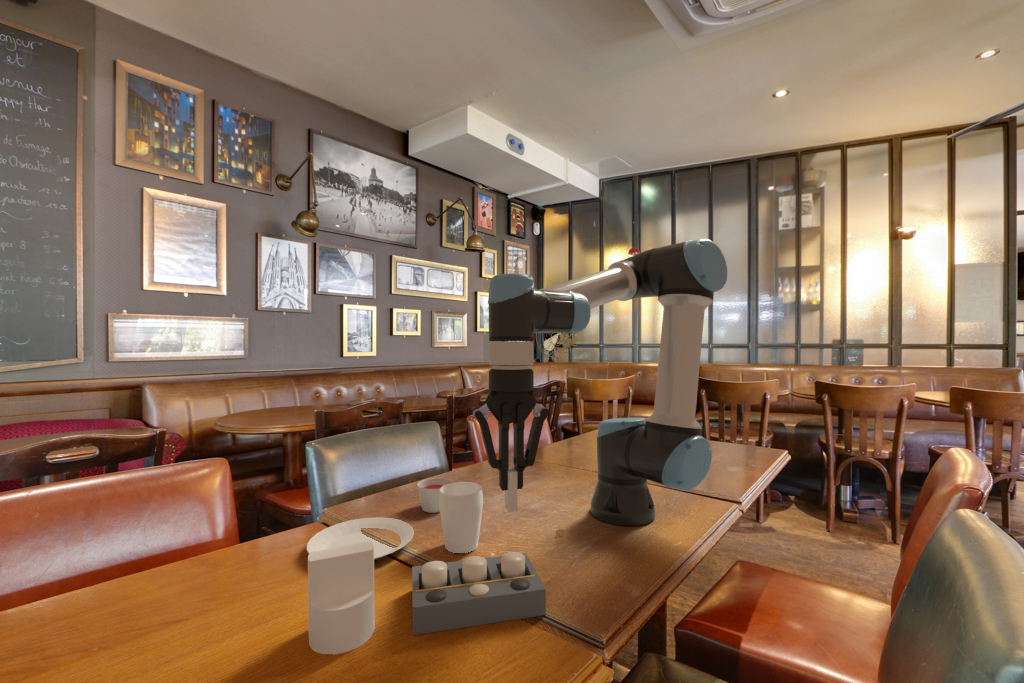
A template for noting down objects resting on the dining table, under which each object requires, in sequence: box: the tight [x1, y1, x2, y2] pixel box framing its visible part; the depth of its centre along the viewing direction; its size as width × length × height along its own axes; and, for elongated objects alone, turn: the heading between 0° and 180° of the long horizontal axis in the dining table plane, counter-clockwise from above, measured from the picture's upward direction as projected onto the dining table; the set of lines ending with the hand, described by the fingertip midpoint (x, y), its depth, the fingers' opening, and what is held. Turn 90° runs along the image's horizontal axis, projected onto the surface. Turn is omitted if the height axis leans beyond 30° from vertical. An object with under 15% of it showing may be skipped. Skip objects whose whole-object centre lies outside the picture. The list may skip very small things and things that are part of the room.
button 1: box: [500, 551, 525, 579], centre depth 75 cm, size 4×4×4 cm
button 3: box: [421, 560, 447, 589], centre depth 72 cm, size 4×4×4 cm
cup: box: [439, 481, 484, 554], centre depth 92 cm, size 9×9×12 cm
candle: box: [416, 477, 454, 514], centre depth 114 cm, size 9×9×6 cm
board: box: [411, 552, 547, 636], centre depth 73 cm, size 20×12×4 cm, turn 103°
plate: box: [306, 516, 415, 561], centre depth 93 cm, size 21×21×2 cm
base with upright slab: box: [307, 541, 376, 655], centre depth 65 cm, size 9×9×12 cm
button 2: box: [462, 555, 487, 584], centre depth 74 cm, size 4×4×4 cm
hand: (511, 508), depth 75 cm, fingers closed
